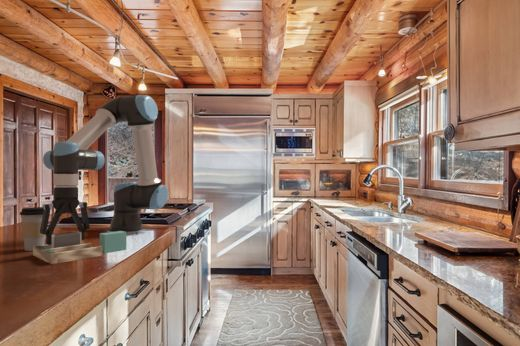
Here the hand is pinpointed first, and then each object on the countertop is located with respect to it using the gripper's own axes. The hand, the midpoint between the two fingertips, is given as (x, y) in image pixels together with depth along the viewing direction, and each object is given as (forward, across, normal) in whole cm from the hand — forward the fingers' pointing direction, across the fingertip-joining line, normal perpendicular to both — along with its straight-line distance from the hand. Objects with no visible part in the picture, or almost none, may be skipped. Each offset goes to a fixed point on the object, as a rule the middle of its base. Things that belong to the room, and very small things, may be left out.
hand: (65, 251), depth 120 cm
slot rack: (0, 0, +4) cm, 4 cm away
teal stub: (+1, -13, +8) cm, 15 cm away
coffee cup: (+1, +5, -15) cm, 16 cm away
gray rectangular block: (0, 0, 0) cm, 0 cm away
